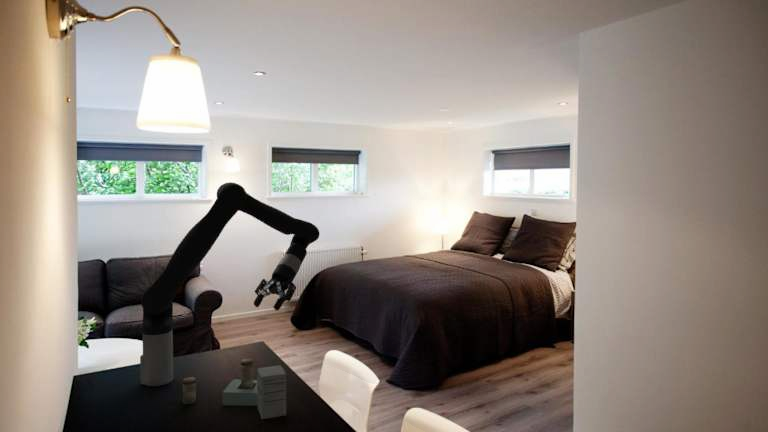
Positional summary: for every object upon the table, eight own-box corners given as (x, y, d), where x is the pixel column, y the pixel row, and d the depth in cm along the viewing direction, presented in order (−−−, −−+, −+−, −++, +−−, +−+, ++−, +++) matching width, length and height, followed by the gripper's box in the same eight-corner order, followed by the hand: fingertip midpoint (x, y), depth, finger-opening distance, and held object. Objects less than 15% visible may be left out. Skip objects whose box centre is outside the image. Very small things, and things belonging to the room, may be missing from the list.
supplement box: (256, 409, 144) (256, 367, 143) (281, 405, 147) (281, 364, 146) (260, 420, 137) (260, 376, 137) (286, 415, 140) (286, 373, 140)
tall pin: (239, 400, 150) (239, 362, 149) (243, 395, 153) (243, 358, 153) (251, 401, 150) (251, 363, 149) (254, 395, 153) (254, 358, 153)
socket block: (222, 405, 146) (222, 392, 146) (233, 391, 156) (233, 379, 156) (261, 405, 146) (261, 393, 146) (270, 392, 156) (270, 380, 156)
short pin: (180, 404, 147) (180, 381, 147) (186, 399, 151) (185, 377, 150) (192, 404, 147) (192, 381, 146) (197, 399, 151) (197, 377, 150)
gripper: (266, 261, 174) (243, 298, 164) (299, 265, 168) (277, 304, 158) (275, 273, 179) (254, 310, 169) (307, 277, 173) (287, 316, 163)
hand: (265, 307), depth 164 cm, fingers open, 8 cm apart
